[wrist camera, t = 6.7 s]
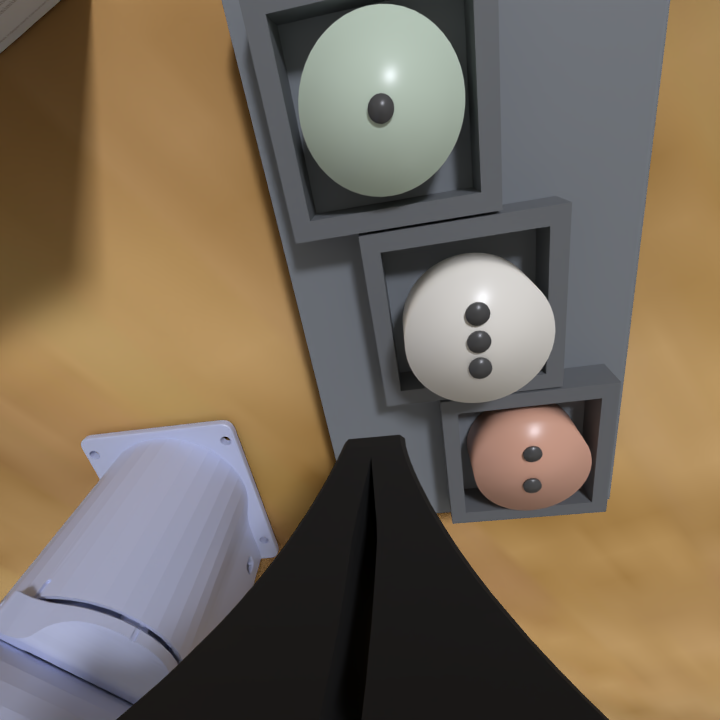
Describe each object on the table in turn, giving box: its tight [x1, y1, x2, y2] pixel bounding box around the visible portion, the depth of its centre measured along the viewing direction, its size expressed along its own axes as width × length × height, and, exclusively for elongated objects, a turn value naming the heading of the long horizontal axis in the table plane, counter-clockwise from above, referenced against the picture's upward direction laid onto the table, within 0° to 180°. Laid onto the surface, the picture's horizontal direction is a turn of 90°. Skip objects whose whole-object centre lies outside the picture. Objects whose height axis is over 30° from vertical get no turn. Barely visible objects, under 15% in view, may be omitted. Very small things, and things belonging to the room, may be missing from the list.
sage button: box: [298, 4, 465, 197], centre depth 12 cm, size 4×4×2 cm
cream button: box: [403, 253, 555, 403], centre depth 14 cm, size 4×4×2 cm
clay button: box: [467, 403, 592, 510], centre depth 18 cm, size 4×4×2 cm
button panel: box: [222, 0, 670, 524], centre depth 16 cm, size 21×12×3 cm, turn 10°
